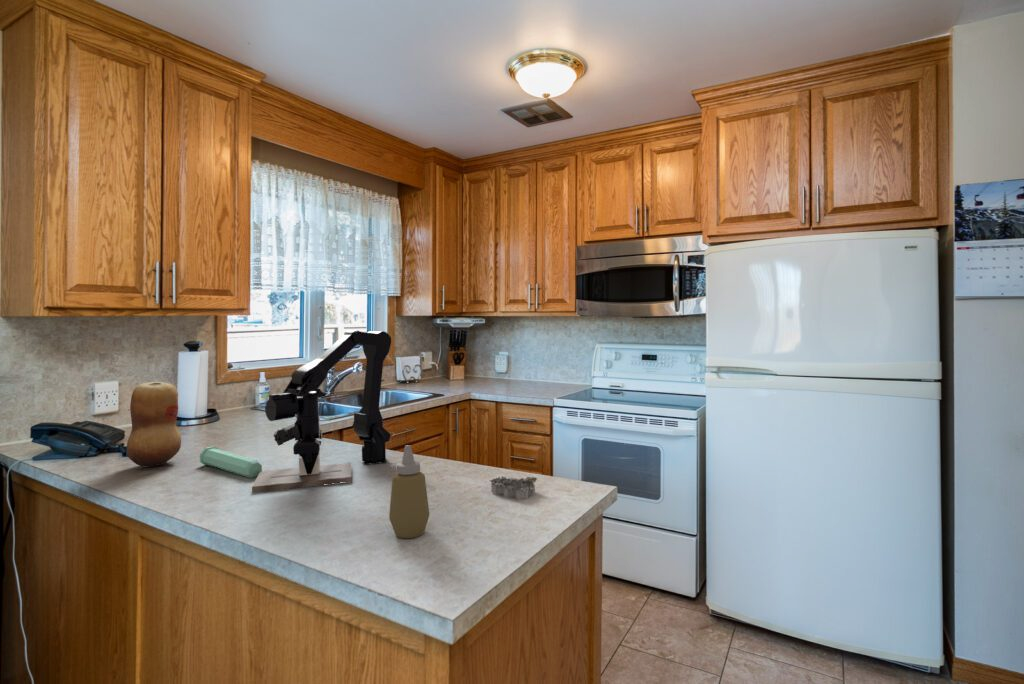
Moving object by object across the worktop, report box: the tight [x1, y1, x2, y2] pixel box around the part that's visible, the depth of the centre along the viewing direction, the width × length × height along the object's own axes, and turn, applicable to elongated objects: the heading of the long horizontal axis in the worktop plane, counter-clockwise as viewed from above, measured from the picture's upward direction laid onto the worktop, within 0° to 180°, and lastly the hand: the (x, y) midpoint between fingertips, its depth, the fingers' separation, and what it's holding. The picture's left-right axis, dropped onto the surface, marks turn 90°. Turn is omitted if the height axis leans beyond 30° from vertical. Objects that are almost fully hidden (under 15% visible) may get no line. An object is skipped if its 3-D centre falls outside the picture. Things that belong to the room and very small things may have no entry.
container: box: [199, 445, 263, 479], centre depth 152 cm, size 6×6×25 cm
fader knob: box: [298, 453, 321, 475], centre depth 143 cm, size 5×4×5 cm
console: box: [251, 462, 352, 493], centre depth 143 cm, size 24×14×2 cm, turn 107°
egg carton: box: [489, 476, 538, 501], centre depth 130 cm, size 11×8×4 cm
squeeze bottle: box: [388, 444, 430, 539], centre depth 106 cm, size 8×8×18 cm
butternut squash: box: [126, 381, 182, 467], centre depth 158 cm, size 14×13×25 cm
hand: (309, 471), depth 143 cm, fingers closed on fader knob, 4 cm apart
